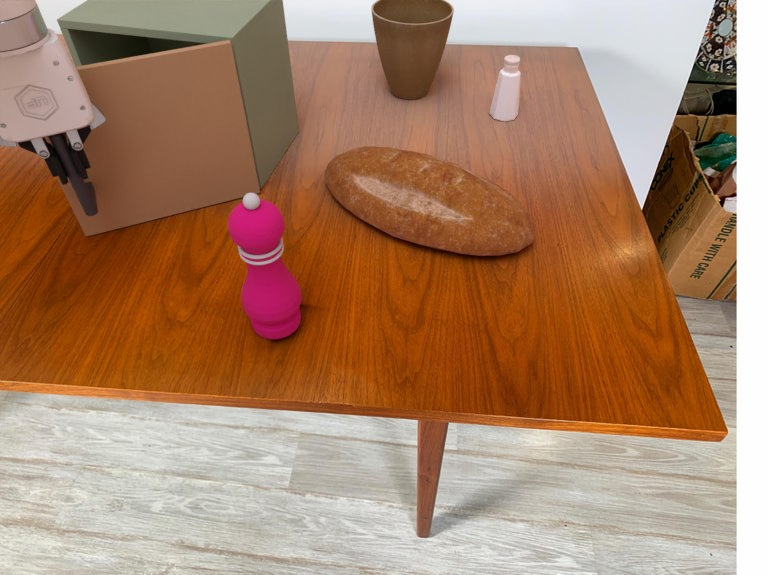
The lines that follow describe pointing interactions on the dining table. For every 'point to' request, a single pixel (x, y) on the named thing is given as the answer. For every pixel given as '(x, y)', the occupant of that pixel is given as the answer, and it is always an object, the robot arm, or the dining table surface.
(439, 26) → the plant pot
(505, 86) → the salt shaker
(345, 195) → the bread
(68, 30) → the cupboard
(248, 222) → the pepper mill
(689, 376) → the dining table surface
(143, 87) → the cupboard door
